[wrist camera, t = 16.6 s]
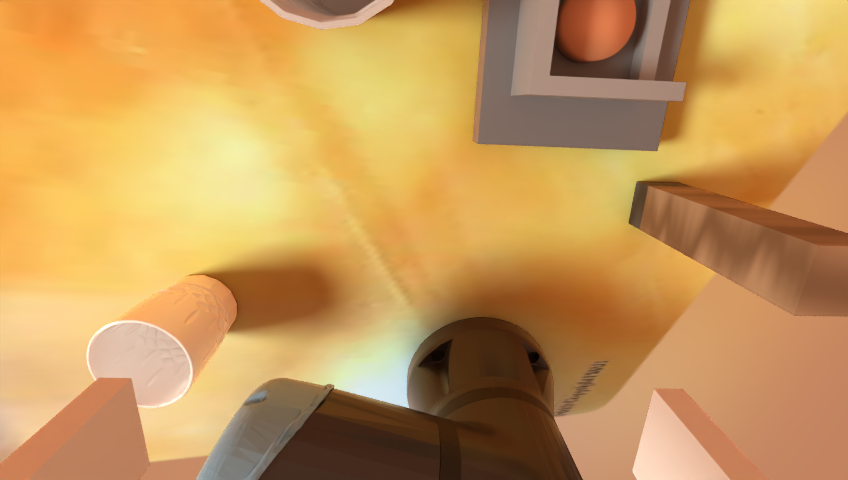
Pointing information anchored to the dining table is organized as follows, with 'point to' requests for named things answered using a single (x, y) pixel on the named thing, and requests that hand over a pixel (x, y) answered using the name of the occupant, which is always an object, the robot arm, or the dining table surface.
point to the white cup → (165, 339)
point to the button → (593, 28)
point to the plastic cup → (327, 11)
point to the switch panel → (575, 80)
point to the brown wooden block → (750, 246)
